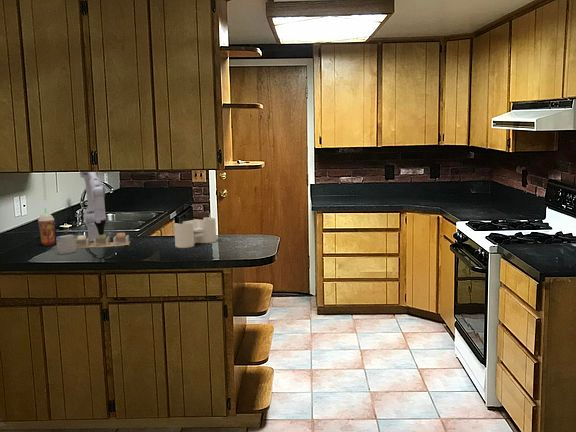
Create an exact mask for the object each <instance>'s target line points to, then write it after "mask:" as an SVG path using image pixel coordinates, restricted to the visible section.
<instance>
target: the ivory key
mask: <svg viewBox="0 0 576 432" xmlns="http://www.w3.org/2000/svg"><path fill="white" fill-rule="evenodd" d="M76 237H77V239H78V240H86V238H87V235H86V234H83V235H82V234H81V235H80V234H79V235H76Z"/></svg>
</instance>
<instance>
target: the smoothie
mask: <svg viewBox="0 0 576 432" xmlns="http://www.w3.org/2000/svg"><path fill="white" fill-rule="evenodd" d="M37 221H38V222H37V223H38V229H39V235H40V241H41V242H40V243H41V244H42V245H43V246H52V245H55V241H56V233H55V232H56V229H55V227H56V226H55V218H54V217H53V215H52V214H51V213H49V212H47V209H46V207H44V213H42V214H40V215H39V217H38V219H37Z"/></svg>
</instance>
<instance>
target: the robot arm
mask: <svg viewBox="0 0 576 432" xmlns="http://www.w3.org/2000/svg"><path fill="white" fill-rule="evenodd" d="M98 174H99V171H98V172H80V171H79V175H80V177H81V178H83V180H84V183H85V191H86V199H87V208H85V209H84V210H83V221H84V225H87V236H88V237H87V238H90V242H94V238H95V237H97V235H98V234H99V235H103V234H105V227H106V223H107V220H105V219H107V216H106V207H105V197H106V190H105V186H104V185H103V184H102V182H101V179H100V177H98V176H99V175H98Z"/></svg>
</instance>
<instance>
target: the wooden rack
mask: <svg viewBox="0 0 576 432" xmlns="http://www.w3.org/2000/svg"><path fill="white" fill-rule="evenodd" d="M75 243H76V250H80V249H81V250H82V249H98V248H111V247H113V246H114V247H125V245H128V246H130V243H131V240H130V235H129V234H127V235H126V234H125V237H121V238H117V235H115V236H114V237H113V241H112V242H111V239H110V236H109V235H108V236H106V238H105V239H97V237H95V238H94V241H93V243H91V241H90V238H88V237H86V240H78V239H77V238H76V237H75ZM114 247H113V248H114Z"/></svg>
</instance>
